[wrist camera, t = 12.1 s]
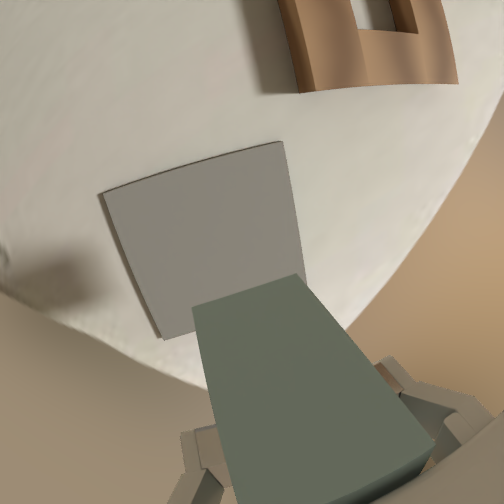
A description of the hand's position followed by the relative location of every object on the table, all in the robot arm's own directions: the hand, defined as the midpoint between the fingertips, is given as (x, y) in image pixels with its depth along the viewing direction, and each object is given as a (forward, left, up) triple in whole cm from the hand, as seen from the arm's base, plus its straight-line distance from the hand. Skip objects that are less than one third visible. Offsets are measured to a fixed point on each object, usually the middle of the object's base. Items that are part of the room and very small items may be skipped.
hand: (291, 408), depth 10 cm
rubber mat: (0, 0, -14) cm, 14 cm away
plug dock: (+15, +16, -14) cm, 26 cm away
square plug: (0, 0, -5) cm, 5 cm away
